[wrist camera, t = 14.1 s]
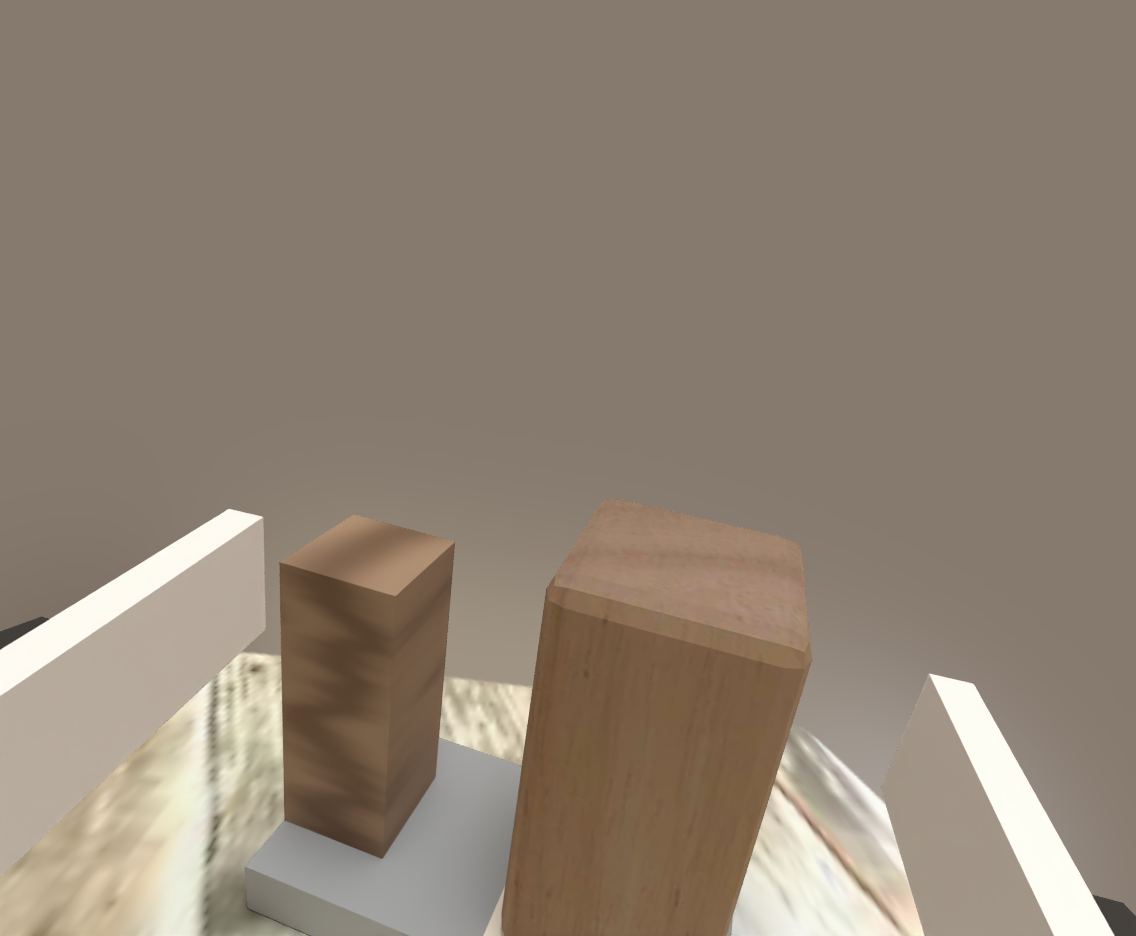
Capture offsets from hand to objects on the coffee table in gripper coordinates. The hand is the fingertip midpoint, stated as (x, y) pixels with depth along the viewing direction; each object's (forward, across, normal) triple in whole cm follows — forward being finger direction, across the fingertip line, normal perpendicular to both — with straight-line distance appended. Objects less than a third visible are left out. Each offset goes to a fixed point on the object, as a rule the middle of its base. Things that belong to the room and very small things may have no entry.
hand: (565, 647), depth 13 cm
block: (+15, +4, -25) cm, 29 cm away
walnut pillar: (+16, -11, -25) cm, 32 cm away
